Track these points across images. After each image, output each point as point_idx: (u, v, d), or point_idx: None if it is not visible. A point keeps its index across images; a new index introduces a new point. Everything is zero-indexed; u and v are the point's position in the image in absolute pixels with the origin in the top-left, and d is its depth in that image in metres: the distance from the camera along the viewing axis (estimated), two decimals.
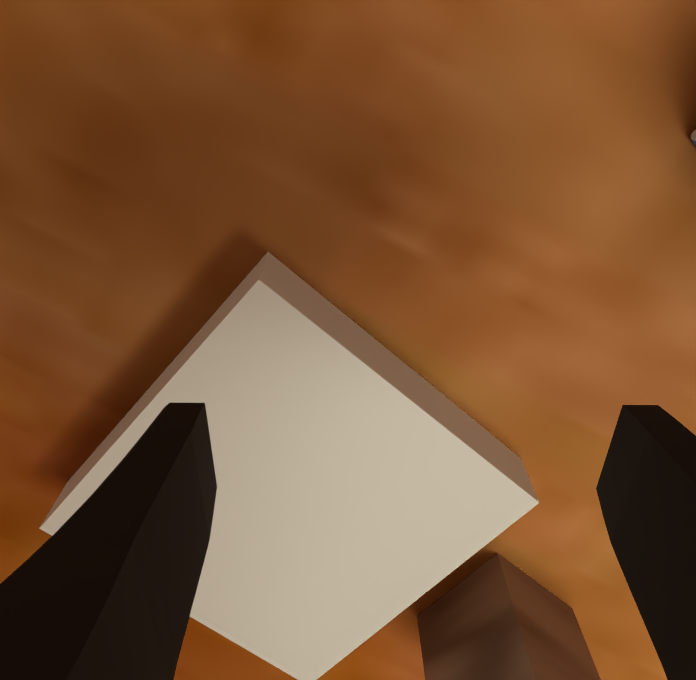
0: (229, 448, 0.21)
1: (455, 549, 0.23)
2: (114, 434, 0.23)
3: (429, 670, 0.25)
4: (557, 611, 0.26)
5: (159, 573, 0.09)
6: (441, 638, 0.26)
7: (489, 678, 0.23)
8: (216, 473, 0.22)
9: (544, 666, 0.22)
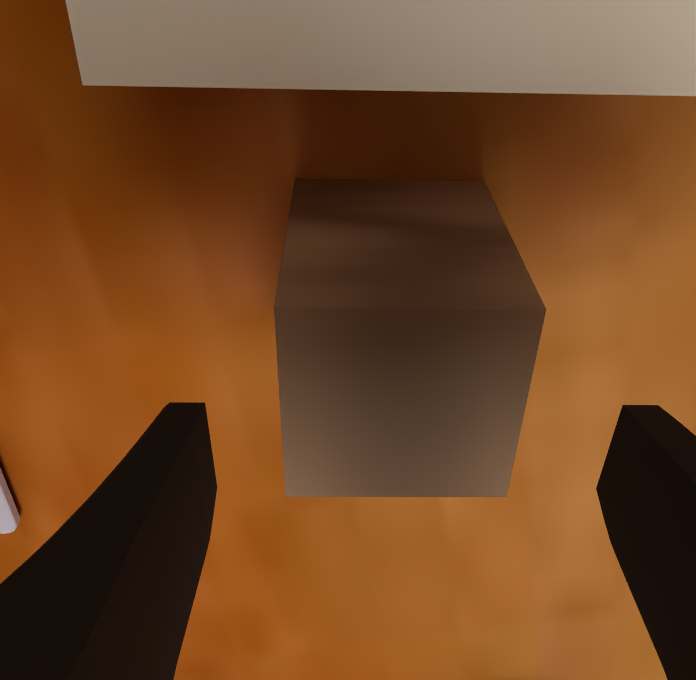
0: None
1: (548, 57, 0.12)
2: None
3: (299, 227, 0.14)
4: None
5: (159, 573, 0.09)
6: (339, 209, 0.15)
7: (434, 270, 0.12)
8: None
9: None
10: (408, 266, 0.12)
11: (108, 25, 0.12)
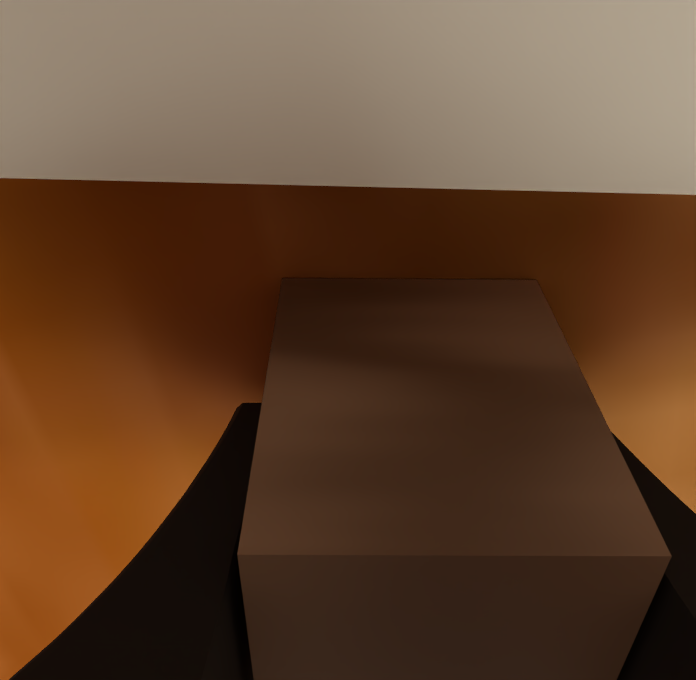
0: None
1: (654, 143, 0.08)
2: None
3: (284, 371, 0.10)
4: None
5: None
6: (342, 335, 0.10)
7: (484, 463, 0.08)
8: None
9: None
10: (444, 455, 0.08)
11: None
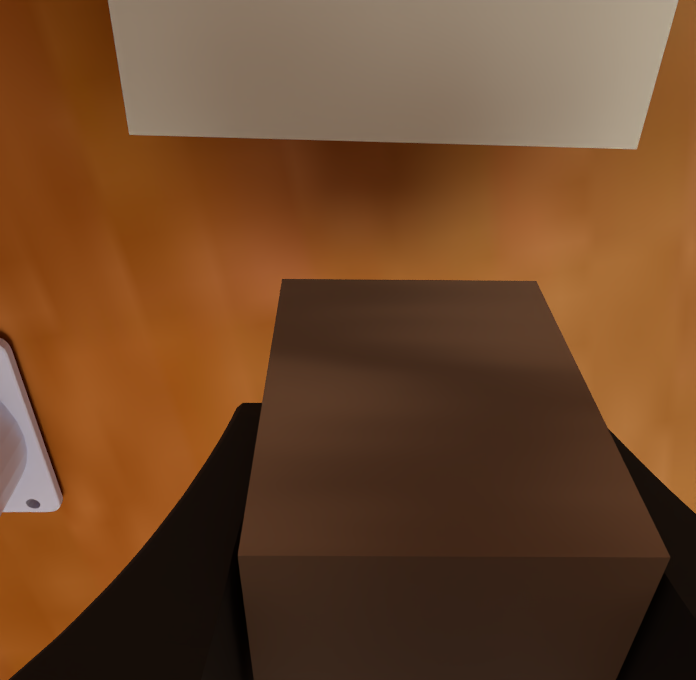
0: None
1: (502, 117, 0.15)
2: None
3: (284, 372, 0.10)
4: None
5: None
6: (342, 336, 0.10)
7: (484, 465, 0.08)
8: None
9: None
10: (444, 457, 0.08)
11: (152, 89, 0.15)
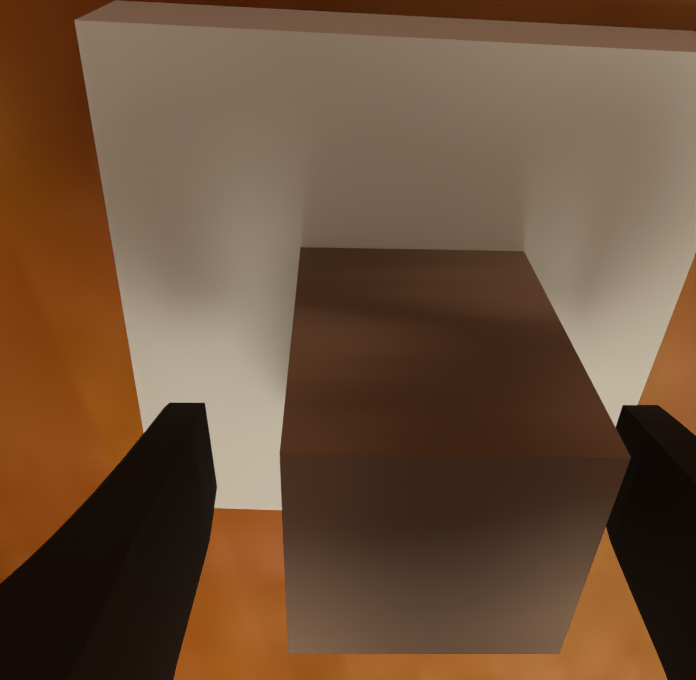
0: (453, 199, 0.13)
1: None
2: (307, 19, 0.12)
3: (308, 321, 0.11)
4: None
5: (159, 573, 0.09)
6: (356, 293, 0.12)
7: (479, 391, 0.10)
8: (399, 209, 0.13)
9: None
10: (446, 385, 0.10)
11: None
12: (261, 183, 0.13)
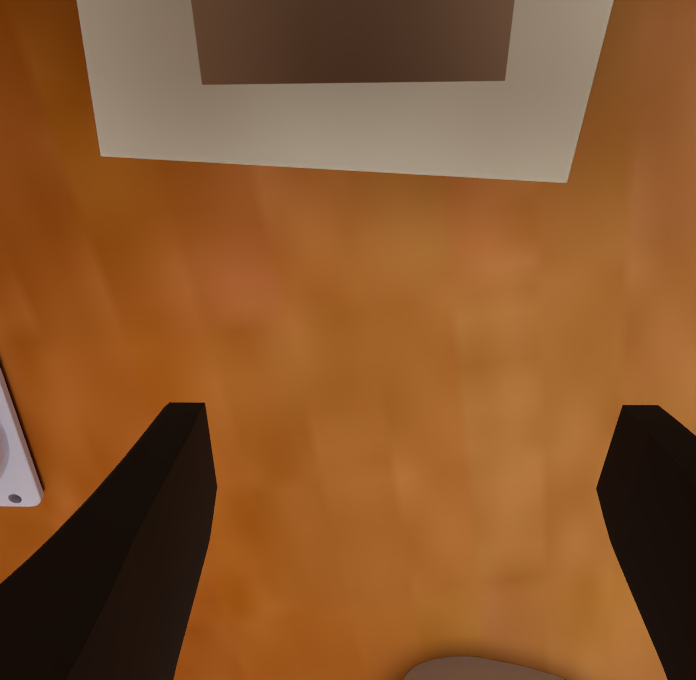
0: None
1: (443, 151, 0.17)
2: None
3: None
4: None
5: (159, 573, 0.09)
6: None
7: None
8: None
9: None
10: None
11: (122, 116, 0.16)
12: None
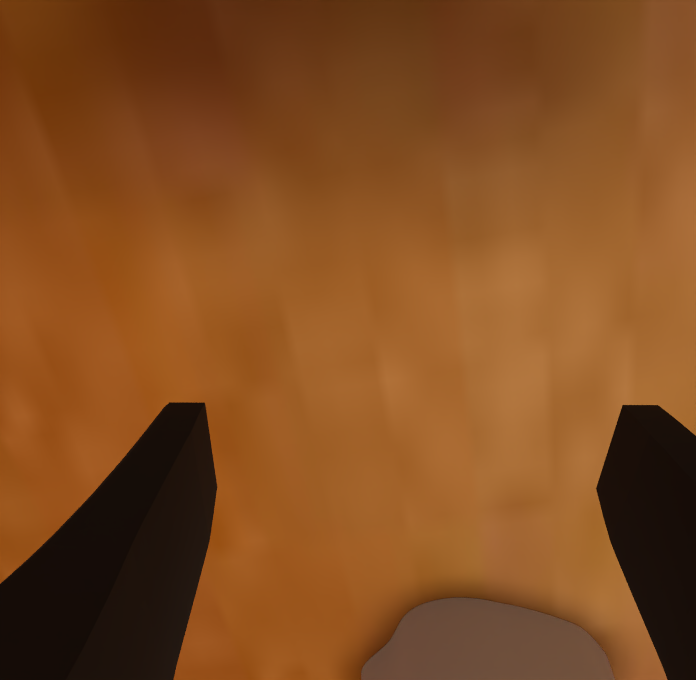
0: None
1: None
2: None
3: None
4: None
5: (159, 573, 0.09)
6: None
7: None
8: None
9: None
10: None
11: None
12: None
